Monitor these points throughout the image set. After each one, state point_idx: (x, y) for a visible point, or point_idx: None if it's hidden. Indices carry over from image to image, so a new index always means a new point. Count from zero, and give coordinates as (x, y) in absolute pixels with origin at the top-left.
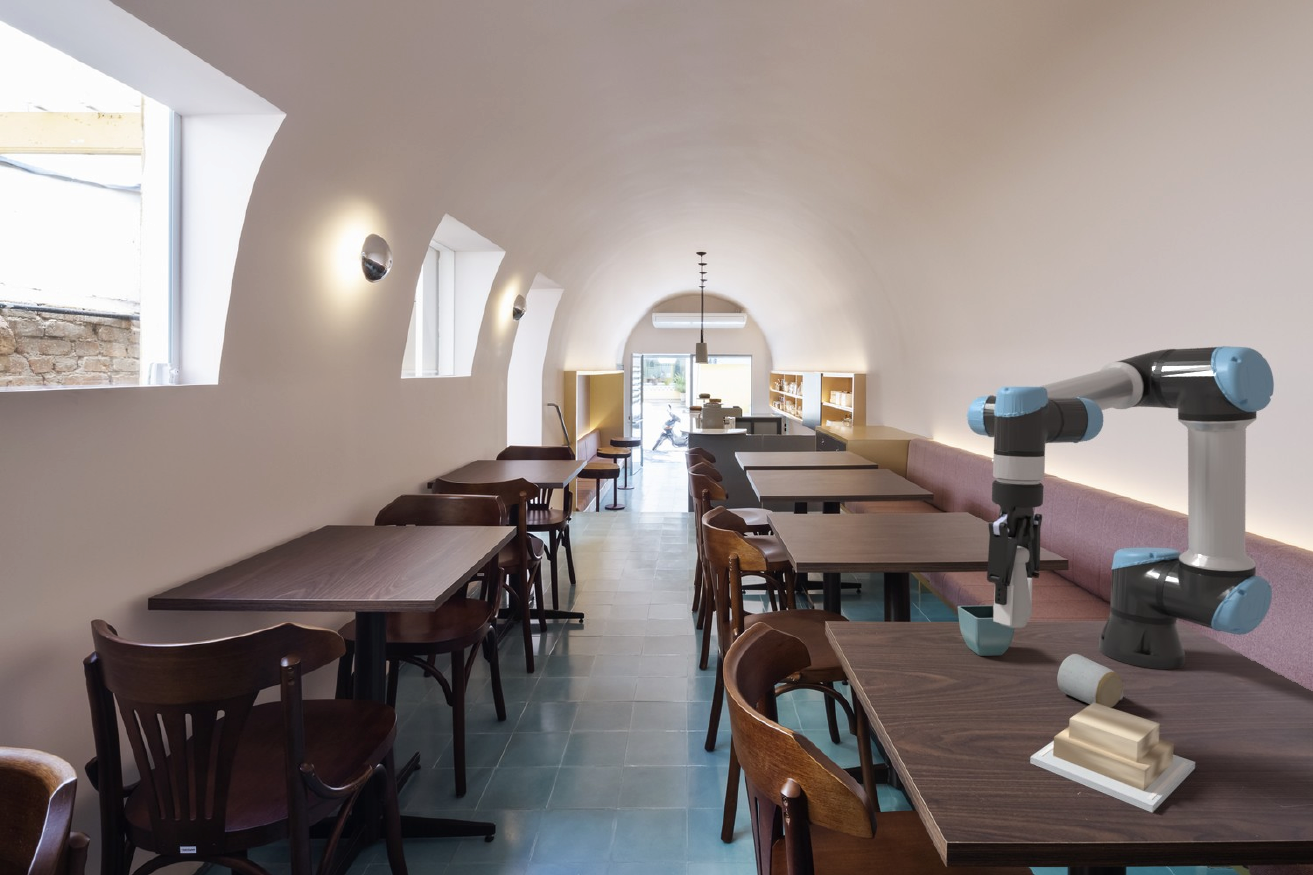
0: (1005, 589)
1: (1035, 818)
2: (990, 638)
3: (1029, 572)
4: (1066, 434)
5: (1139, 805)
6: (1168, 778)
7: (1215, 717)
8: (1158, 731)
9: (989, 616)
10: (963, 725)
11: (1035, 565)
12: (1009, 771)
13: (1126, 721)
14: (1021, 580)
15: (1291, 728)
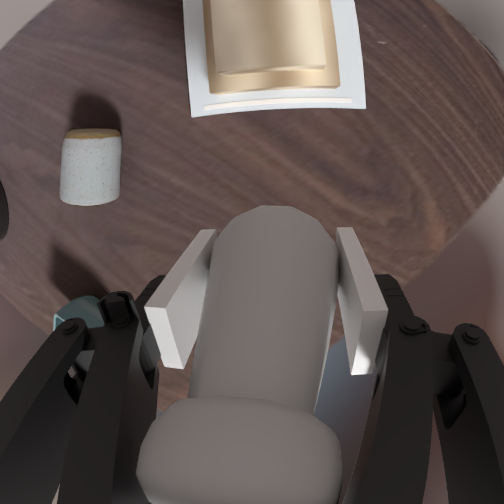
0: (396, 314)
1: (466, 66)
2: (98, 317)
3: (140, 337)
4: None
5: None
6: None
7: (42, 69)
8: None
9: None
10: (333, 220)
11: (77, 346)
12: (405, 119)
13: (248, 9)
14: (291, 315)
15: (23, 32)
